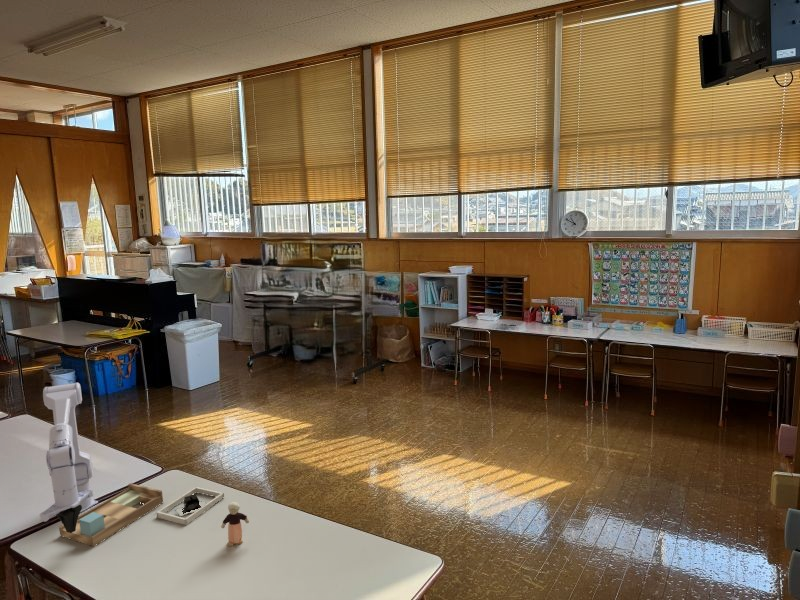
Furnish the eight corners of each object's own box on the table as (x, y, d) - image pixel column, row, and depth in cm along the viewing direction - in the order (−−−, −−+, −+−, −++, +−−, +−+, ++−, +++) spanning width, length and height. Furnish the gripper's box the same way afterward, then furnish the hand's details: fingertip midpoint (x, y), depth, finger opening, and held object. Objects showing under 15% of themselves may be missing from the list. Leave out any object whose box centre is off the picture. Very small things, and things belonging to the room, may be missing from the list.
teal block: (81, 533, 163) (79, 519, 162) (94, 525, 167) (92, 511, 166) (91, 536, 161) (89, 522, 160) (105, 528, 165) (103, 514, 164)
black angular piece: (174, 521, 173) (173, 508, 173) (169, 511, 179) (168, 498, 178) (214, 508, 180) (213, 495, 179) (208, 499, 186) (207, 486, 185)
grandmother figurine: (224, 549, 157) (221, 509, 155) (222, 542, 160) (218, 502, 158) (251, 541, 160) (248, 501, 158) (248, 535, 164) (245, 495, 162)
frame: (156, 517, 175) (156, 512, 174) (196, 491, 190) (195, 486, 190) (186, 525, 170) (185, 519, 170) (224, 498, 185) (223, 493, 185)
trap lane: (60, 536, 166) (58, 522, 165) (131, 495, 189) (130, 483, 188) (93, 546, 160) (92, 533, 159) (163, 502, 183) (161, 490, 183)
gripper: (49, 502, 147) (56, 548, 149) (97, 477, 160) (103, 520, 162) (32, 497, 150) (39, 543, 152) (81, 474, 163) (86, 516, 165)
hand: (71, 531), depth 157 cm, fingers closed
